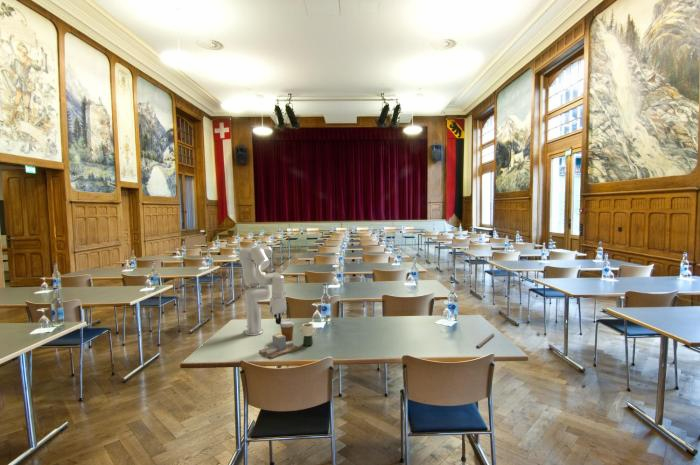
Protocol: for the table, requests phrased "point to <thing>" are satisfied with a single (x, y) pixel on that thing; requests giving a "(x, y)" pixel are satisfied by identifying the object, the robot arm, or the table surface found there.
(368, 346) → the table surface
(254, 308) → the robot arm
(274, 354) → the rail board
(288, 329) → the disposable coffee cup
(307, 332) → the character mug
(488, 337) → the metal rod
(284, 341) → the block
